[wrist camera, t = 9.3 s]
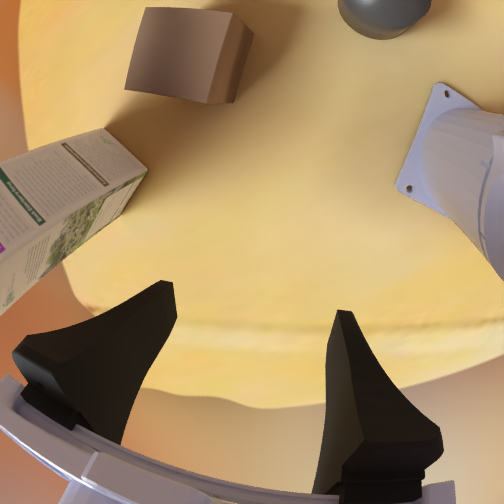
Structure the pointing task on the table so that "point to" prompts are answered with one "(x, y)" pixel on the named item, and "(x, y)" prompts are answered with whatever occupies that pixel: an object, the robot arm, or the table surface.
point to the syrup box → (59, 204)
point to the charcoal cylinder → (382, 16)
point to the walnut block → (189, 54)
